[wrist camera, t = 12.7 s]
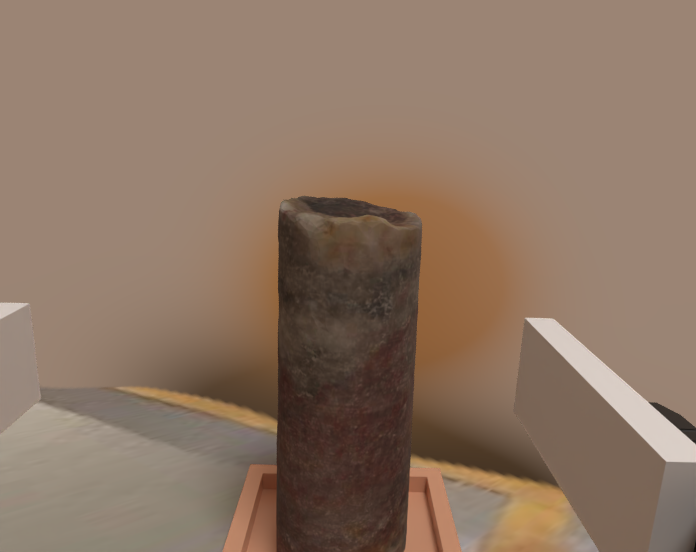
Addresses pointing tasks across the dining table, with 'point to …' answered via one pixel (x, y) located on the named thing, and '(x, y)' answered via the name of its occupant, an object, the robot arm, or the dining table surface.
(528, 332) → the robot arm
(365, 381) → the candle
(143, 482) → the dining table surface
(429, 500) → the dish
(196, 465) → the dining table surface
